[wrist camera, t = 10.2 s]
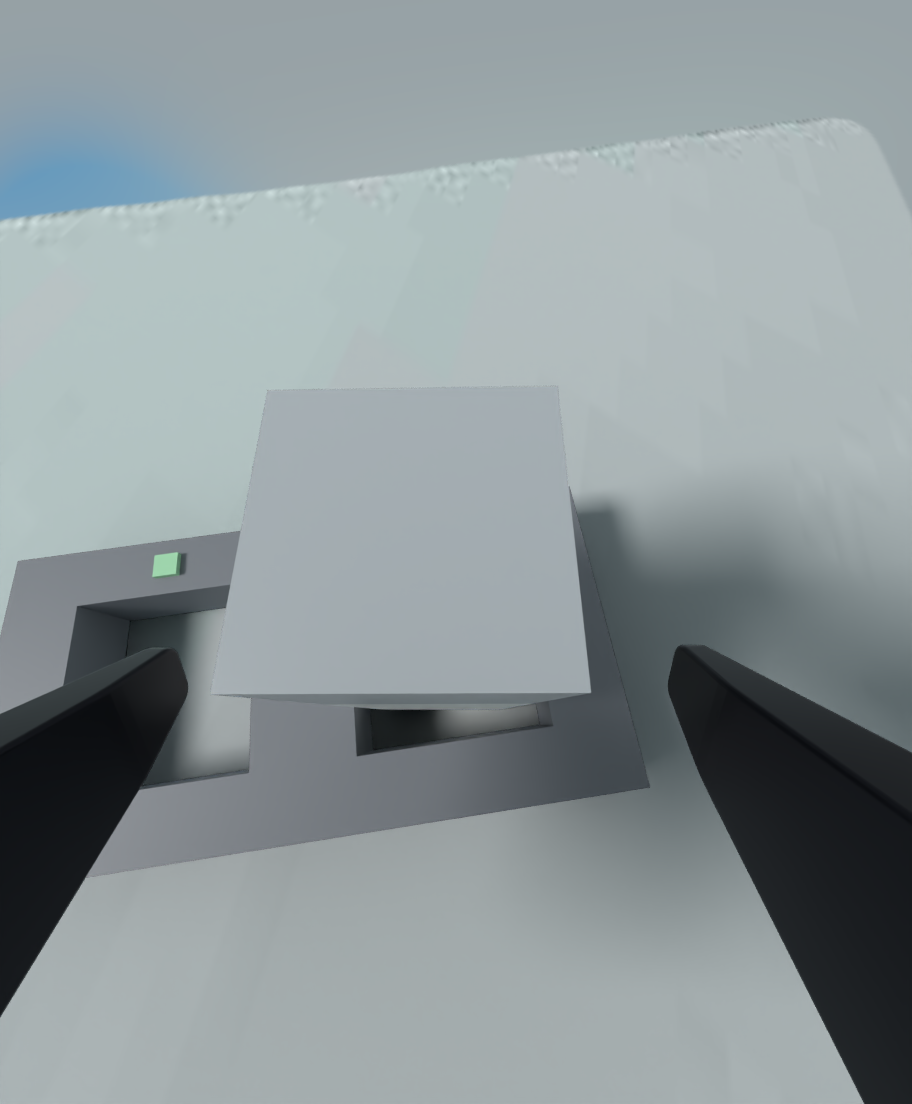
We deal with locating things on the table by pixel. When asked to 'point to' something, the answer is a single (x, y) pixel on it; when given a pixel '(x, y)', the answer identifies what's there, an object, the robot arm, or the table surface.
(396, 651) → the plug
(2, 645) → the socket plate
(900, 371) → the table surface
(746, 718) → the robot arm
